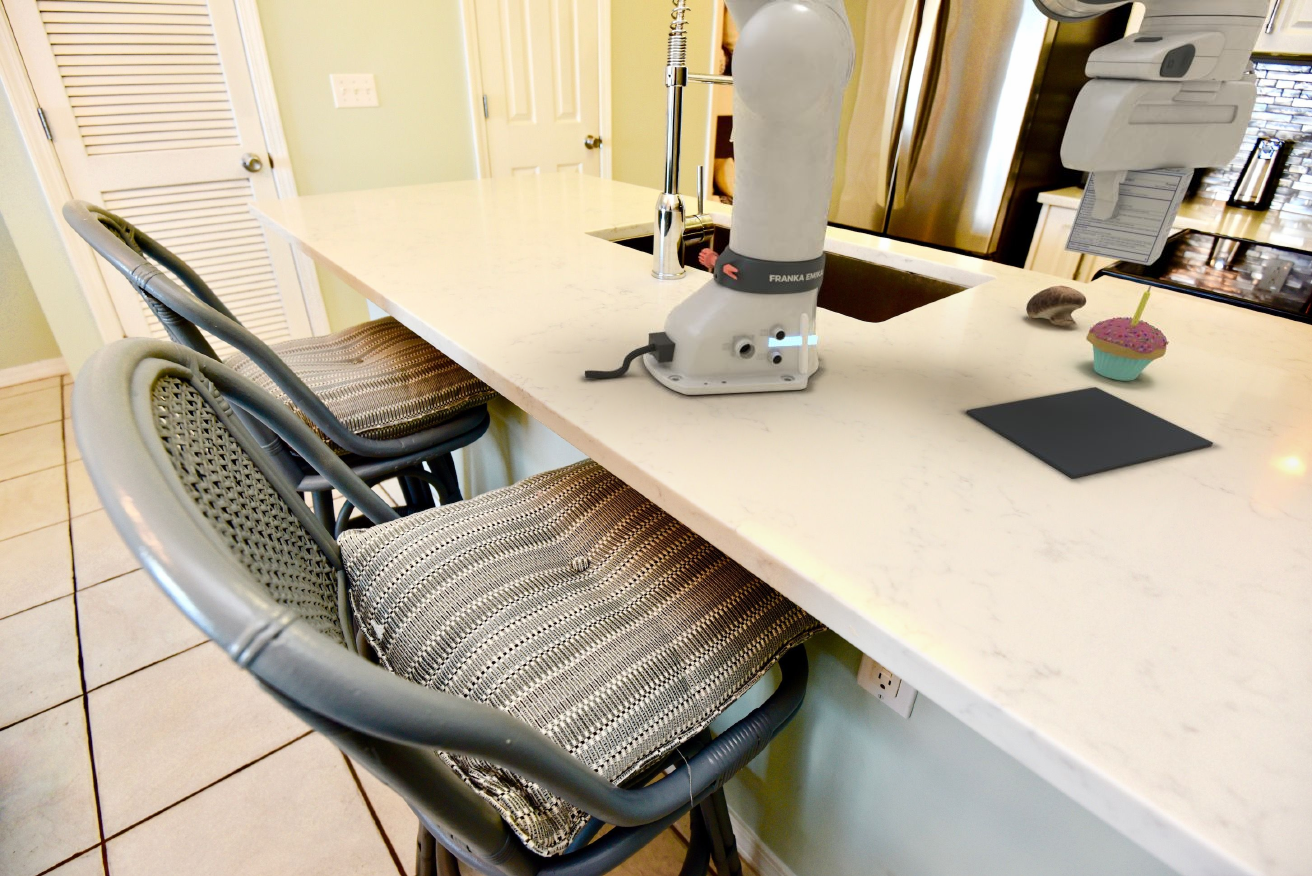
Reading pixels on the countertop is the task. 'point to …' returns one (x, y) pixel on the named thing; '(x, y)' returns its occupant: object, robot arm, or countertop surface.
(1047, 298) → the mushroom
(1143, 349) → the cupcake
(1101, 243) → the medicine box
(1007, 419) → the cloth
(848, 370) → the countertop surface
